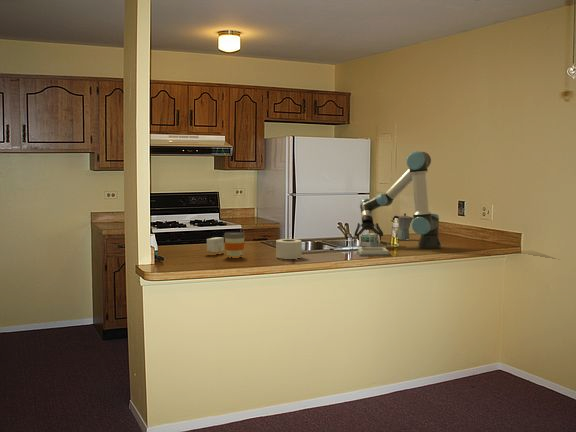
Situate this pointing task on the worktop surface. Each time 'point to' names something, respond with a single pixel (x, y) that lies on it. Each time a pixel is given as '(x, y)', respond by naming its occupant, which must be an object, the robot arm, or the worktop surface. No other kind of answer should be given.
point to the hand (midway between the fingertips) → (369, 243)
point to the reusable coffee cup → (234, 243)
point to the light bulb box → (369, 240)
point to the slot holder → (372, 251)
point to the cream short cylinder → (289, 248)
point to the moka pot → (403, 226)
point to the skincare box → (215, 244)
